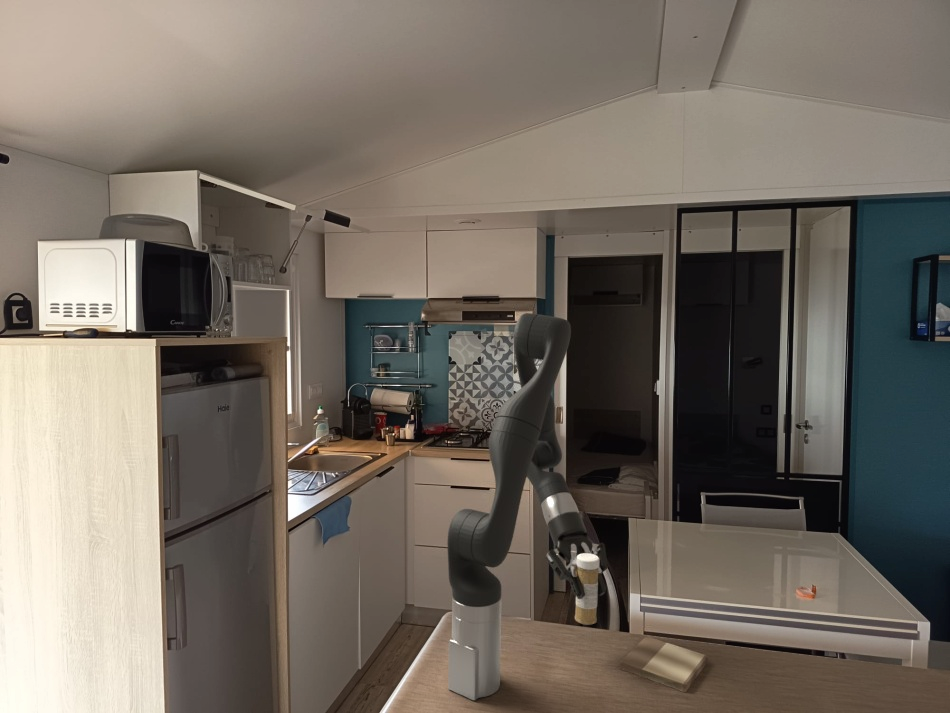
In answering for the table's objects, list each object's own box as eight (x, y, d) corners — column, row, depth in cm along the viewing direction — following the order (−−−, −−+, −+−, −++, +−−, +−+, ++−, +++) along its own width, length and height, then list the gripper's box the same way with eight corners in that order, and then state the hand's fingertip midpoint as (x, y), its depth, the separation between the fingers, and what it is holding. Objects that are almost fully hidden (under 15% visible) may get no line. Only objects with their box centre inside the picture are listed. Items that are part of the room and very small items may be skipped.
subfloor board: (685, 692, 123) (685, 684, 123) (620, 669, 131) (620, 661, 131) (707, 663, 133) (707, 655, 133) (646, 642, 141) (646, 635, 141)
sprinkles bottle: (572, 615, 137) (574, 552, 136) (593, 615, 137) (595, 552, 136) (577, 626, 132) (580, 560, 131) (599, 625, 132) (602, 560, 132)
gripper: (540, 513, 137) (569, 593, 127) (598, 507, 143) (630, 582, 133) (527, 530, 142) (554, 608, 132) (583, 523, 148) (613, 597, 138)
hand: (592, 595), depth 132 cm, fingers closed on sprinkles bottle, 4 cm apart
